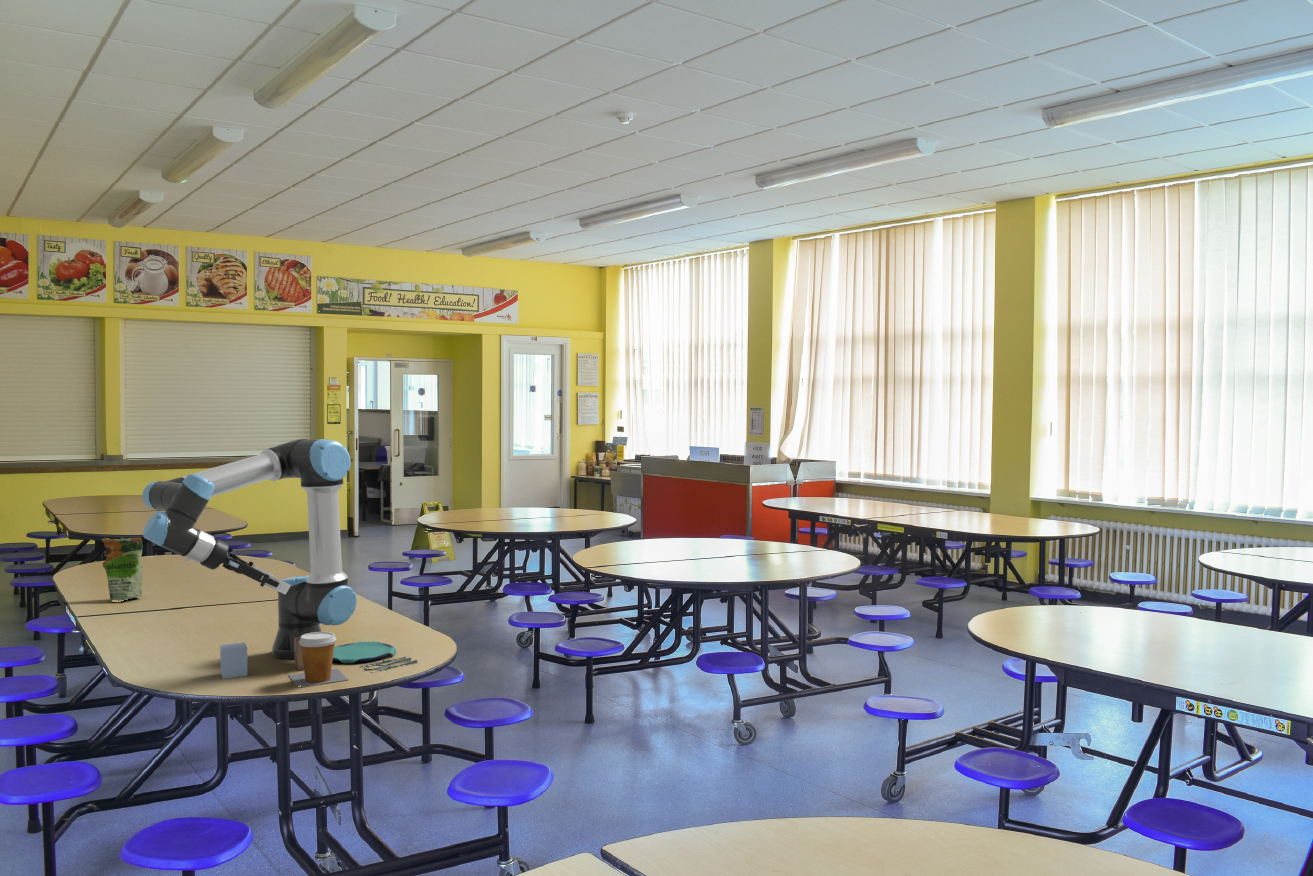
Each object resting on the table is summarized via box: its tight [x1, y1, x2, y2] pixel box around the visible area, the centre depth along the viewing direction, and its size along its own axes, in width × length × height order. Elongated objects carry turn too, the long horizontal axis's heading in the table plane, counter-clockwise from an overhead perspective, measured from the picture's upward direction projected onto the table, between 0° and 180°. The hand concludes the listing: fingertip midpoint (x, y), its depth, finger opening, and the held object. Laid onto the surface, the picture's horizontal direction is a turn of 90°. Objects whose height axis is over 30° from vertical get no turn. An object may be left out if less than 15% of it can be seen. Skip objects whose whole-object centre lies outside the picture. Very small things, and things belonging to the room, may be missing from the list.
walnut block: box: [294, 637, 304, 671], centre depth 260 cm, size 6×6×8 cm
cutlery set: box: [333, 641, 418, 672], centre depth 269 cm, size 20×30×2 cm, turn 45°
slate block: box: [219, 641, 248, 679], centre depth 252 cm, size 6×6×8 cm
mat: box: [288, 668, 349, 688], centre depth 248 cm, size 13×13×1 cm
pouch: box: [101, 536, 144, 601], centre depth 352 cm, size 11×12×25 cm
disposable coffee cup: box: [299, 631, 337, 683], centre depth 246 cm, size 10×10×12 cm
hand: (280, 584), depth 247 cm, fingers open, 13 cm apart
